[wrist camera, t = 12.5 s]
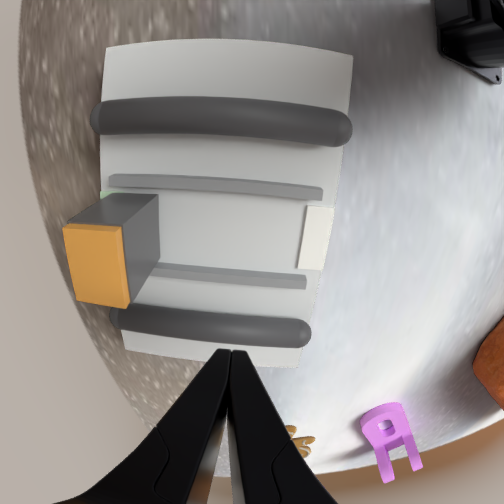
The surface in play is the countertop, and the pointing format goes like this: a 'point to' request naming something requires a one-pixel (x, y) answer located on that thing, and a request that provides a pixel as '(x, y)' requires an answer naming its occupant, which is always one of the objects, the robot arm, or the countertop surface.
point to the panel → (226, 188)
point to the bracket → (389, 437)
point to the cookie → (300, 441)
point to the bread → (492, 363)
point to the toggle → (113, 248)
